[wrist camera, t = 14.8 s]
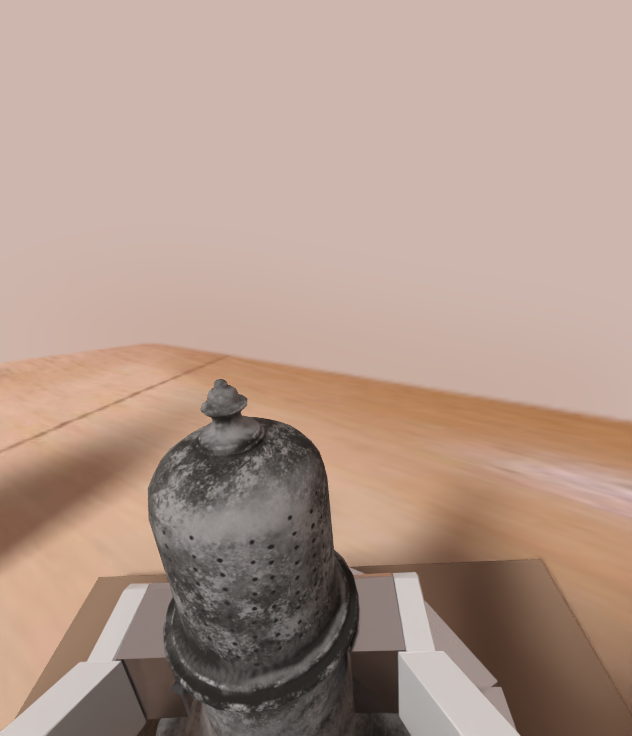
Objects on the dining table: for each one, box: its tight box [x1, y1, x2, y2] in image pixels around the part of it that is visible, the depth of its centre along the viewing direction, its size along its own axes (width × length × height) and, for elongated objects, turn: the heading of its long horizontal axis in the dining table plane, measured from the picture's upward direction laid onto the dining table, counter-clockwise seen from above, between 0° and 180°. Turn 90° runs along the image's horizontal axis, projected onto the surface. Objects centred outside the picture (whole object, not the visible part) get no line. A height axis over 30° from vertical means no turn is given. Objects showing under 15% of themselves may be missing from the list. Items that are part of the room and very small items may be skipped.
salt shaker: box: [148, 379, 411, 736], centre depth 8 cm, size 6×6×12 cm
